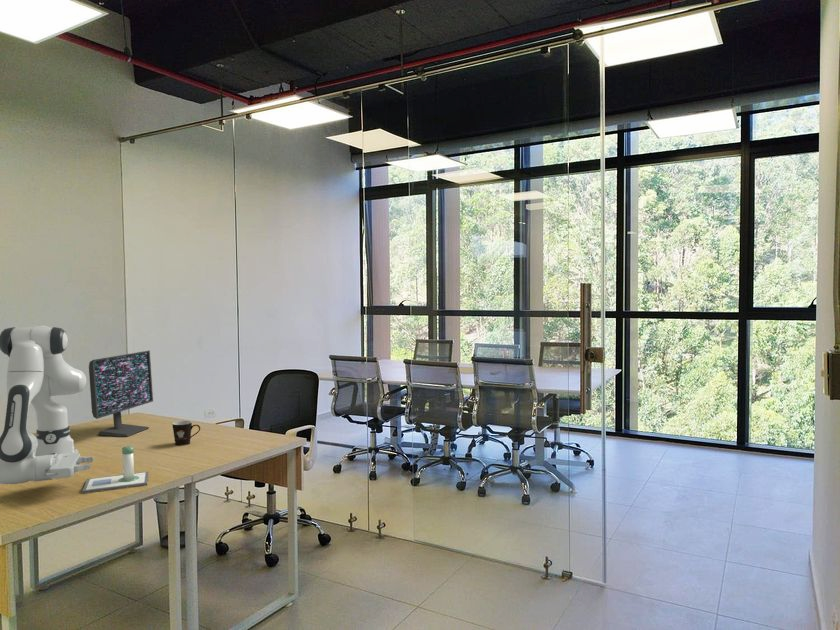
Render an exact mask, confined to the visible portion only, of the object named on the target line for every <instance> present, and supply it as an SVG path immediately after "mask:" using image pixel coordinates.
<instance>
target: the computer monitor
mask: <svg viewBox="0 0 840 630" xmlns="http://www.w3.org/2000/svg"><path fill="white" fill-rule="evenodd" d="M88 374H89V375H88V376H89V390H90V403H91V405H90V406H91V414H92V416H93V418H94V419H96V420H98V419H101V418H105V417H107V416H110V415H112V417H113V426H111V427H109V428H106V429H103V430H100V431H99V432H98V433H97V435H98V436H101V437H117V438H118V437H119V438H120V437H121V438H123V437H124V438H127V437H130V436H133V435H135V434H138V433H141V432H143V431H145V430H148V429H150V427H148V426H142V425H135V424H127V423H126V424H125V423H123V422H122V412H123V411H127V410H130V409H134V408H137V407H140V406H143V405H146V404H149V403H152V402H154V394H153V393H154V392H153V379H152V365H151V350H145V351H138V352H132V353H126V354H119V355H114V356H109V357H108V356H107V357H102V358H101V357H100V358H95V359H92V360H89V363H88Z"/></svg>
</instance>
